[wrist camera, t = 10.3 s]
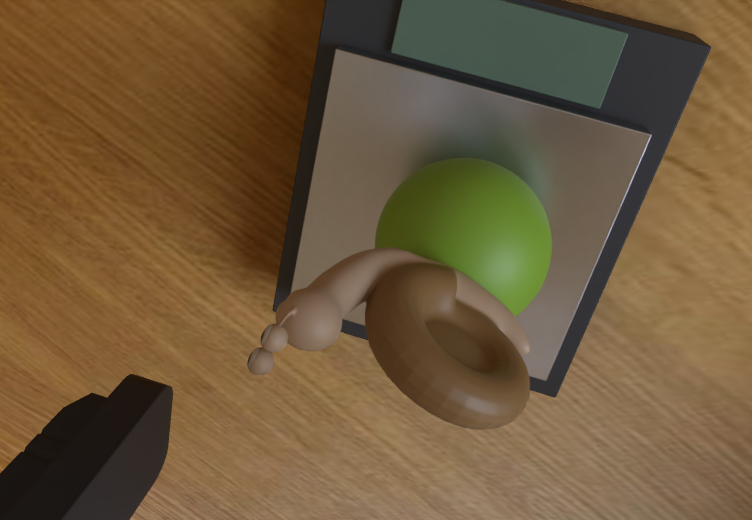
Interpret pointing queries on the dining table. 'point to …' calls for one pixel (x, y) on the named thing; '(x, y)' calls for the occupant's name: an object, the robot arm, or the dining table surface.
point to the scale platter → (465, 140)
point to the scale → (522, 75)
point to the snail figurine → (437, 292)
